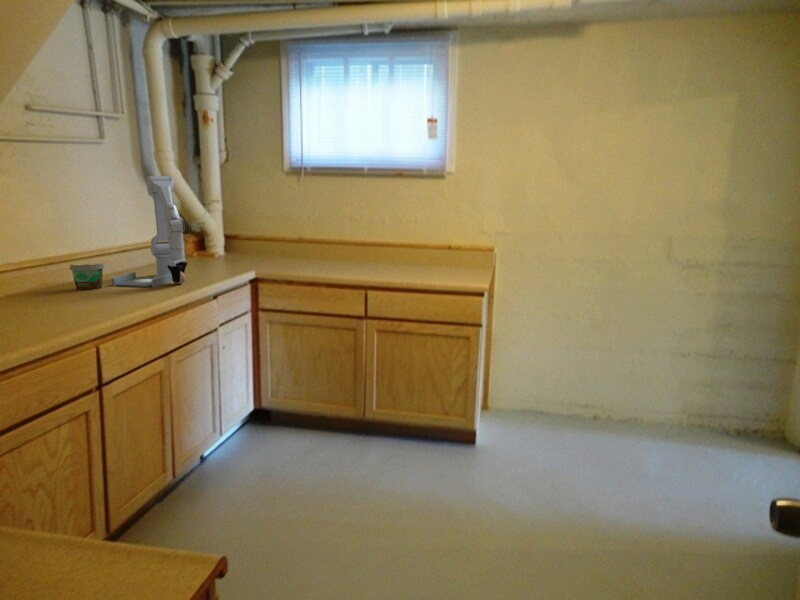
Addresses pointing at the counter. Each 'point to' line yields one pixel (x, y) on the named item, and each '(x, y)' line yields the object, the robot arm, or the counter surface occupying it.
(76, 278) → the food container
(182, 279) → the ball
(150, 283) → the mat
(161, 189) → the robot arm
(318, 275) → the counter surface
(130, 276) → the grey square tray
